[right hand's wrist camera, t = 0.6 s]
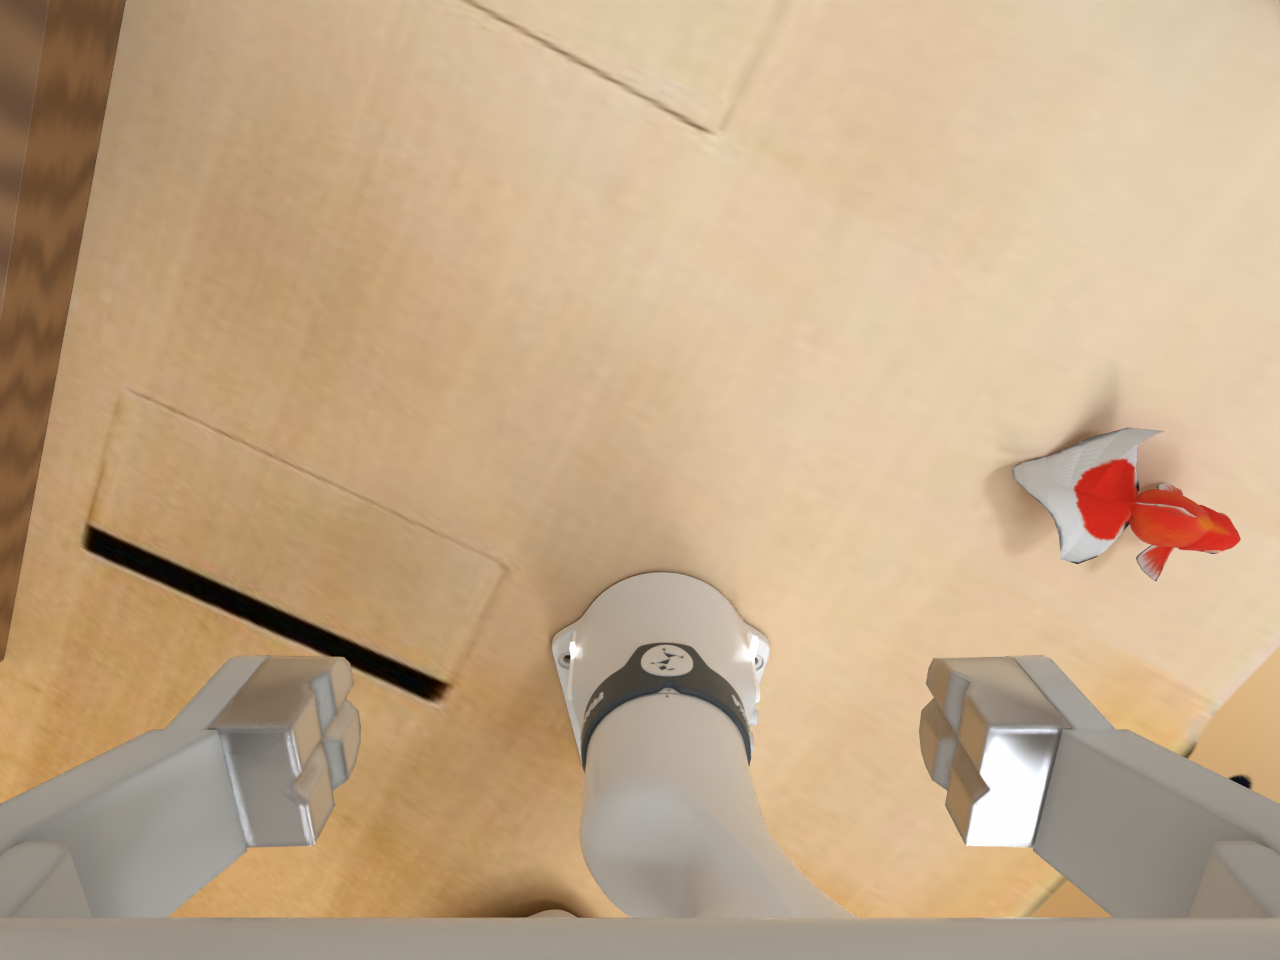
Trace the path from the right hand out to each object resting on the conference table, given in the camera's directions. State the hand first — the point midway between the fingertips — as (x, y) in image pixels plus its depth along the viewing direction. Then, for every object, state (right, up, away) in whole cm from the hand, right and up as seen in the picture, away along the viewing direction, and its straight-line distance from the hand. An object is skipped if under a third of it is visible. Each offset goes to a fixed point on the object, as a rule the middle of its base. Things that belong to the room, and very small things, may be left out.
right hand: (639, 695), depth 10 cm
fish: (+36, +2, +49) cm, 61 cm away
